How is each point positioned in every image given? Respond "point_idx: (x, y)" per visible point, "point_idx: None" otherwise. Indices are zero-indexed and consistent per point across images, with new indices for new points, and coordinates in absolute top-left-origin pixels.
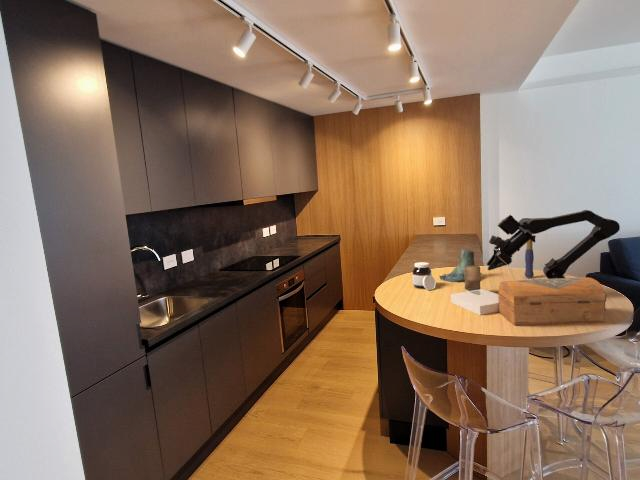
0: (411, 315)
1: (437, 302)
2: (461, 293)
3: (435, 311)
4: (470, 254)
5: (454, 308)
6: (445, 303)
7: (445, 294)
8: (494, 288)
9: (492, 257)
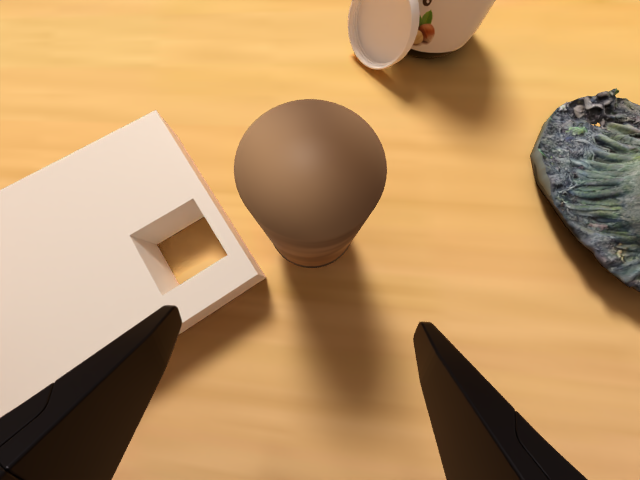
0: (13, 5)
1: (174, 86)
2: (164, 159)
3: (52, 79)
4: None
5: None
6: None
7: None
8: None
9: (489, 442)
